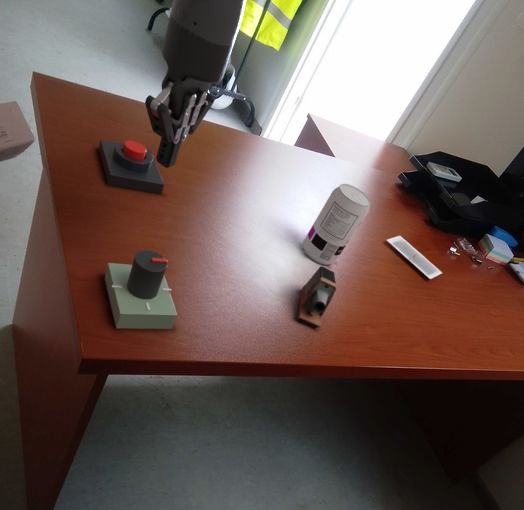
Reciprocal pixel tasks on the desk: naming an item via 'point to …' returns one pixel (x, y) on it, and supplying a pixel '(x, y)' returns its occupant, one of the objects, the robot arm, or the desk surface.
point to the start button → (134, 150)
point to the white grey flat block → (414, 257)
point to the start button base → (129, 169)
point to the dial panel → (137, 302)
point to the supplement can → (336, 224)
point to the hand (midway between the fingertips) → (165, 163)
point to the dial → (146, 274)
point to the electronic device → (316, 297)
